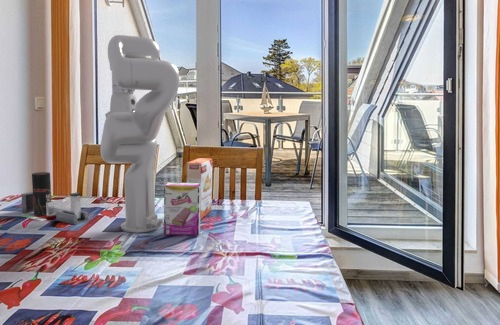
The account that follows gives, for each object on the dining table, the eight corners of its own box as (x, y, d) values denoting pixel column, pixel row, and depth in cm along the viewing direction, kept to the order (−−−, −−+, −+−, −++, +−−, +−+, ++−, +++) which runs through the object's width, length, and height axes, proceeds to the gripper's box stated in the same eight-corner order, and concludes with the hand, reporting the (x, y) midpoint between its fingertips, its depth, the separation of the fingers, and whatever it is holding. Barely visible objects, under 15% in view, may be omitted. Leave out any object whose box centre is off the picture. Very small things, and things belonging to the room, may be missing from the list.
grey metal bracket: (90, 220, 147) (90, 212, 146) (75, 224, 141) (75, 216, 141) (71, 216, 151) (71, 208, 151) (55, 220, 146) (55, 212, 145)
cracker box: (201, 221, 149) (201, 163, 146) (185, 219, 150) (185, 162, 147) (212, 211, 162) (213, 158, 159) (197, 210, 163) (198, 157, 160)
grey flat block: (41, 209, 159) (40, 191, 158) (26, 213, 154) (25, 194, 153) (37, 208, 160) (36, 191, 159) (22, 212, 155) (21, 193, 154)
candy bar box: (163, 236, 131) (163, 185, 129) (166, 231, 136) (165, 182, 134) (199, 236, 132) (199, 185, 129) (200, 231, 137) (200, 182, 134)
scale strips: (73, 212, 156) (73, 212, 156) (41, 221, 144) (41, 220, 144) (62, 210, 158) (62, 210, 158) (30, 218, 147) (30, 218, 147)
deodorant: (46, 215, 151) (44, 175, 149) (30, 215, 151) (28, 174, 149) (55, 211, 157) (53, 172, 155) (39, 211, 157) (37, 171, 155)
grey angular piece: (85, 217, 148) (84, 192, 146) (70, 221, 142) (69, 195, 141) (61, 212, 153) (60, 188, 152) (46, 215, 148) (45, 191, 147)
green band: (62, 210, 158) (62, 210, 158) (30, 218, 147) (30, 218, 147) (52, 208, 161) (52, 207, 161) (20, 216, 150) (20, 215, 150)
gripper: (147, 91, 154) (148, 137, 156) (113, 91, 161) (114, 135, 164) (133, 91, 147) (134, 139, 150) (98, 90, 155) (99, 136, 157)
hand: (123, 137), depth 157 cm, fingers open, 9 cm apart
